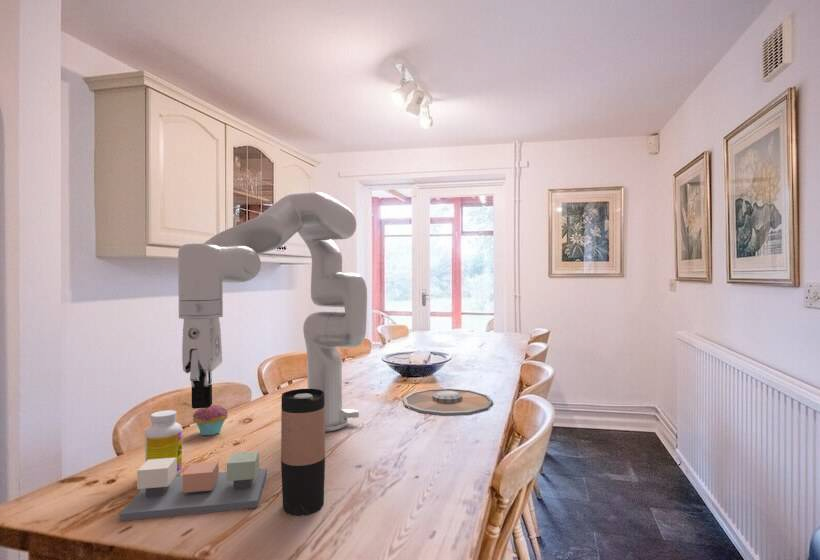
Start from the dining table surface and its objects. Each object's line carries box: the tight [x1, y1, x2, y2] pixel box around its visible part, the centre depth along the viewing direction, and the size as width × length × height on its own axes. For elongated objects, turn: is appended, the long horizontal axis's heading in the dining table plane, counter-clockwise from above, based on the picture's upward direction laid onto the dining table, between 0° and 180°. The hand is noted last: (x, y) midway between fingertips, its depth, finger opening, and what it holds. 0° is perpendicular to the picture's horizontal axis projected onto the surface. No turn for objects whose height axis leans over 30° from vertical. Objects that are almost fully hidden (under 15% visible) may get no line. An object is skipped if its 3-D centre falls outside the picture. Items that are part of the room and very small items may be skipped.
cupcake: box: [192, 404, 229, 436], centre depth 118 cm, size 9×8×12 cm
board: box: [119, 467, 268, 522], centre depth 83 cm, size 22×14×3 cm, turn 101°
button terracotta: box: [182, 460, 220, 493], centre depth 83 cm, size 5×5×3 cm
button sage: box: [226, 451, 260, 481], centre depth 85 cm, size 5×5×3 cm
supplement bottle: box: [144, 409, 183, 476], centre depth 92 cm, size 7×7×13 cm
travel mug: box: [280, 388, 326, 517], centre depth 79 cm, size 8×8×20 cm
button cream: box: [136, 457, 178, 490], centre depth 82 cm, size 5×5×3 cm
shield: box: [402, 388, 494, 416], centre depth 147 cm, size 30×3×30 cm
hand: (202, 406), depth 84 cm, fingers closed
